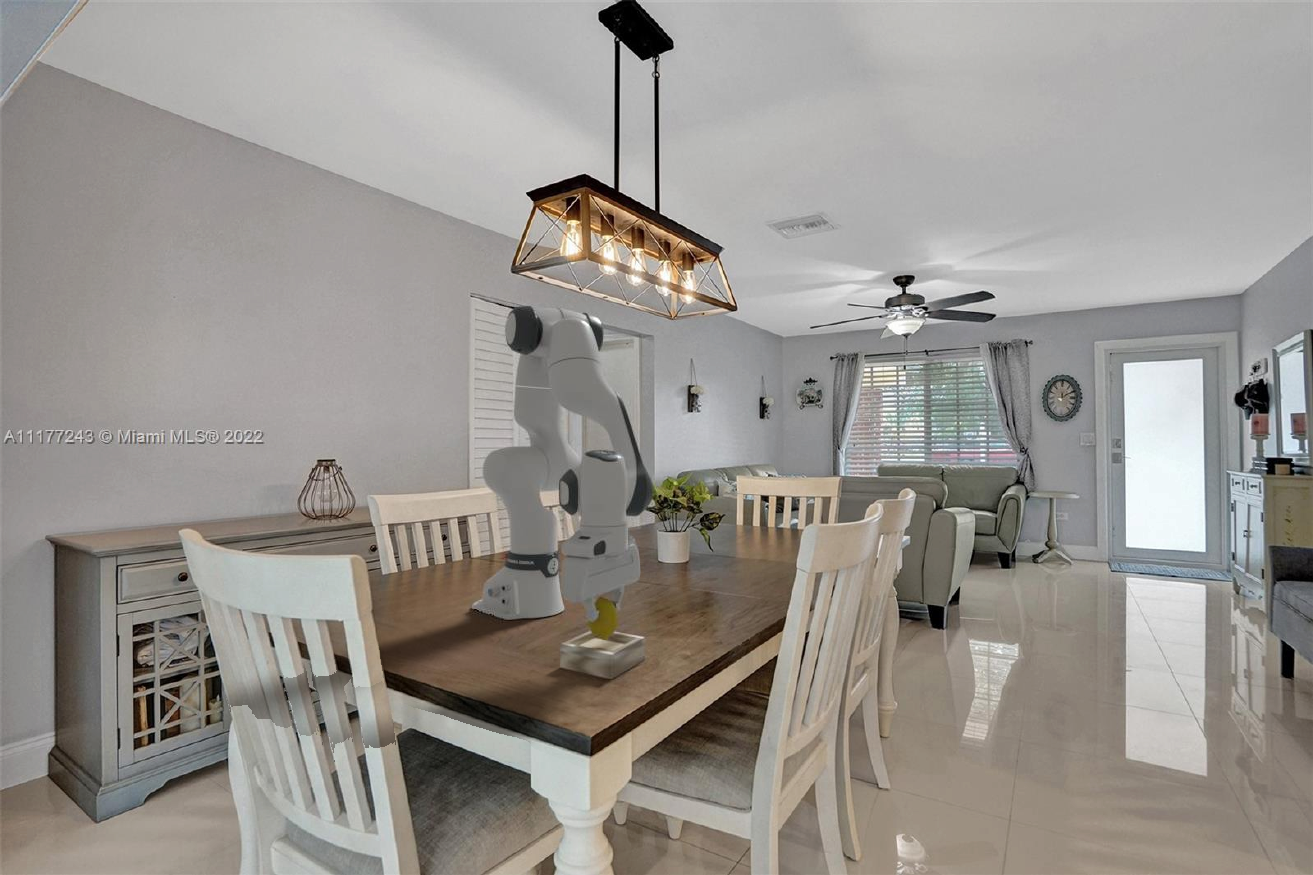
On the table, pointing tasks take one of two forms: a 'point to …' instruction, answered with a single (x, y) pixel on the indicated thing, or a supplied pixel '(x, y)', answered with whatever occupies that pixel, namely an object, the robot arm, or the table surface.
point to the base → (602, 654)
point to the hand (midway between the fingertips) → (603, 615)
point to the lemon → (604, 619)
